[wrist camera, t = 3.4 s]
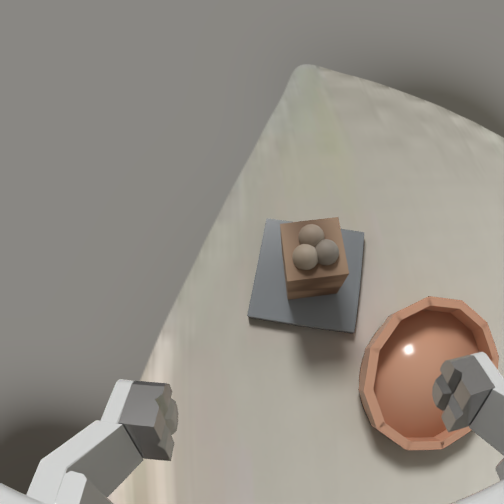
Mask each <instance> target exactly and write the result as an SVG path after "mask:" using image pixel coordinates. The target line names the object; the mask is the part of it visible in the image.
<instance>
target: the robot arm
mask: <svg viewBox="0 0 504 504" xmlns="http://www.w3.org/2000/svg"><path fill="white" fill-rule="evenodd" d="M440 372H441V375H440V376H439V377H438V378H437V379H436V380H435V382H434V385H433V387H432V396H433V401H434V403H435V405H436V407H437V408H439V409H440V410H442V411H443V412H442V416H441V418H442V420H443V422H444V424H445V427H446V429H447V431H448V432H452V431H455V430H459V429H462V428H465V427H468V426H469V428H470V429H471V430H473V431H474V432H475V433H476V434H477V435H479V436H480V437H481V438H482V439H484V440H485V441H486V442H487V443H489V444H490V445H491V446H492V447H494V448H495V449H496V450H497V451H499V452H500V453H501V454H502V455H504V378H503V377H502V375H501V374H500V373H499V371H498V370H497V368H496V367H495V365H494V364H493V363H492V361H491V360H490V359H489V357H488V356H487V354H486V353H484V352H478V353H474V354H471V355H466V356H462V357H458V358H454V359H450V360H446V361H445V362H444V363H443V364H442V366H441V368H440ZM171 395H172V390H171V387H170V384H167V383H155V382H144V381H132V380H122V379H119V381H117V382H116V384H115V386H114V389H113V391H112V394H111V396H110V398H109V401H108V403H107V406H106V409H105V411H104V413H103V416H102V418H101V421H98V420H96V421H94V422H93V423H92V424H90V425H89V426H88V427H86V428H85V429H84V430H82V431H81V432H79V433H78V434H77V435H75V436H74V437H72V438H71V439H70V440H68V441H67V442H66V443H64V444H63V445H61V446H60V447H59V448H57V449H56V450H54V451H53V452H52V453H50V454H49V455H47V456H46V457H44V458H43V459H42V460H41V461H40V463H39V466H38V468H37V471H36V473H35V475H34V478H33V480H32V483H31V485H30V487H29V490H28V493H27V495H25V494H22V493H20V492H18V491H16V490H14V489H11V488H9V487H7V486H5V485H3V484H1V483H0V504H113V503H112V502H111V501H110V500H109V499H108V498H107V497H108V496H109V495H110V494H111V493H112V492H113V491H114V490H115V489H116V488H117V487H118V486H119V485H120V484H121V483H122V482H123V481H124V480H125V479H126V478H127V477H128V476H129V475H130V474H131V473H132V471H133V470H134V469H135V468H136V467H137V466H138V465H139V464H140V463H141V462H142V461H143V458H145V459H155V460H166V461H171V457H172V452H173V447H174V441H173V438H172V436H171V435H172V434H174V433H175V432H176V431H177V426H178V408H177V404H176V401H174V400H173V399H172V398H171ZM496 471H497V474H498V476H499V478H500V481H499V482H497V483H495V484H493V485H491V486H489V487H487V488H485V489H483V490H481V491H479V492H477V493H474V494H472V495H470V496H468V497H465V498H463V499H461V500H458V501H456V502H453V503H451V504H504V458H503V459H502V460H501V461H500V462H499V464H498V465H497V467H496Z"/></svg>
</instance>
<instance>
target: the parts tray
mask: <svg viewBox="0 0 504 504" xmlns="http://www.w3.org/2000/svg"><path fill="white" fill-rule="evenodd" d="M283 223H292V222H289V221H282V220H275V219H266V224H265V229H264V234H263V239H262V245H261V250H260V255H259V260H258V265H257V270H256V275H255V280H254V285H253V290H252V295H251V300H250V305H249V310H248V315H247V316H248V317H250V318H255V319H261V320H267V321H273V322H279V323H285V324H292V325H298V326H305V327H311V328H318V329H325V330H332V331H340V332H347V333H354V331H355V323H356V316H357V307H358V299H359V290H360V280H361V269H362V257H363V243H364V232H358V231H352V230H345V229H341V233H342V238H343V243H344V249H345V254H346V259H347V264H348V270H349V275H348V276H347V278H346V280H345V281H344V283H343V285H342V286H341V288H340V289H339V291H338V293H337V294H329V295H322V296H314V297H306V298H298V299H290V300H288V299H287V290H286V282H285V273H284V265H283V257H282V246H281V231H280V224H283Z"/></svg>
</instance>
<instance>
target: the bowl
mask: <svg viewBox="0 0 504 504" xmlns="http://www.w3.org/2000/svg"><path fill="white" fill-rule="evenodd" d="M478 352H484V353H486V354H487V356H488V357H489V359H490V360H491V361H492V363H493V364H494V365H495V367H496V368H497V370H498V360H499V356H498V353H497V349H496V346H495V343H494V340H493V338H492V335H491V332H490V329H489V326H488V324H487V322H486V321H485V320H484V319H483V318H481V317H480V316H479V315H478V314H477V313H476V312H475V311H474V310H472V309H471V308H470V307H469V306H468V305H467V304H466V303H464V302H463V301H462V300H454V299H446V298H438V297H431V296H428V297H426V298H424V299H422V300H420V301H418V302H416V303H414V304H412V305H410V306H408V307H406V308H404V309H402V310H400V311H398V312H396V313H394V314H392V315H390V316H388V318H387V319H386V321H385V322H384V324H383V325H382V326H381V327H380V328H379V329H378V330H377V332H376V333H375V334H374V336H373V337H372V339H371V341H370V342H369V344H368V346H367V347H366V349H365V353H364V356H363V359H362V363H361V367H360V375H359V389H358V390H359V392H360V398H361V401H362V405H363V408H364V410H365V412H366V415H367V416H368V418H369V420H370V423H371V426H373V427H374V428H375V429H377V430H378V431H380V432H381V433H382V434H384V435H385V436H387V437H388V438H389V439H391V440H392V441H394V442H395V443H396V444H398V445H399V446H401V447H402V448H404V449H405V450H436V449H443V448H445V447H447V446H448V445H450V444H452V443H453V442H455V441H456V440H458V439H459V438H461V437H462V436H464V435H465V434H467V433H468V432H470V431H471V429H470V428H469V426H468V427H465V428H462V429H459V430H455V431H452V432H448V431H447V429H446V427H445V424H444V422H443V420H442V418H441V416H442V412H443V411H442V410H440V409H439V408H437V407H436V405H435V403H434V401H433V396H432V387H433V385H434V382H435V380H436V379H437V378H438V377H439V376H440V375H441V372H440V368H441V366H442V364H443V363H444V362H445V361H446V360H450V359H454V358H458V357H462V356H466V355H471V354H474V353H478Z"/></svg>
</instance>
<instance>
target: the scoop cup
mask: <svg viewBox="0 0 504 504" xmlns="http://www.w3.org/2000/svg"><path fill="white" fill-rule="evenodd" d="M280 231H281V246H282V257H283V265H284V273H285V282H286V290H287V299H288V300H290V299H298V298H306V297H314V296H322V295H329V294H337V293H338V291H339V289H340V288H341V286H342V285H343V283H344V281H345V280H346V278H347V276H348V275H349V270H348V264H347V259H346V254H345V249H344V243H343V238H342V233H341V229H340V224H339V219H338V217H336V218H327V219H318V220H309V221H300V222H292V223H283V224H280Z"/></svg>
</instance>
